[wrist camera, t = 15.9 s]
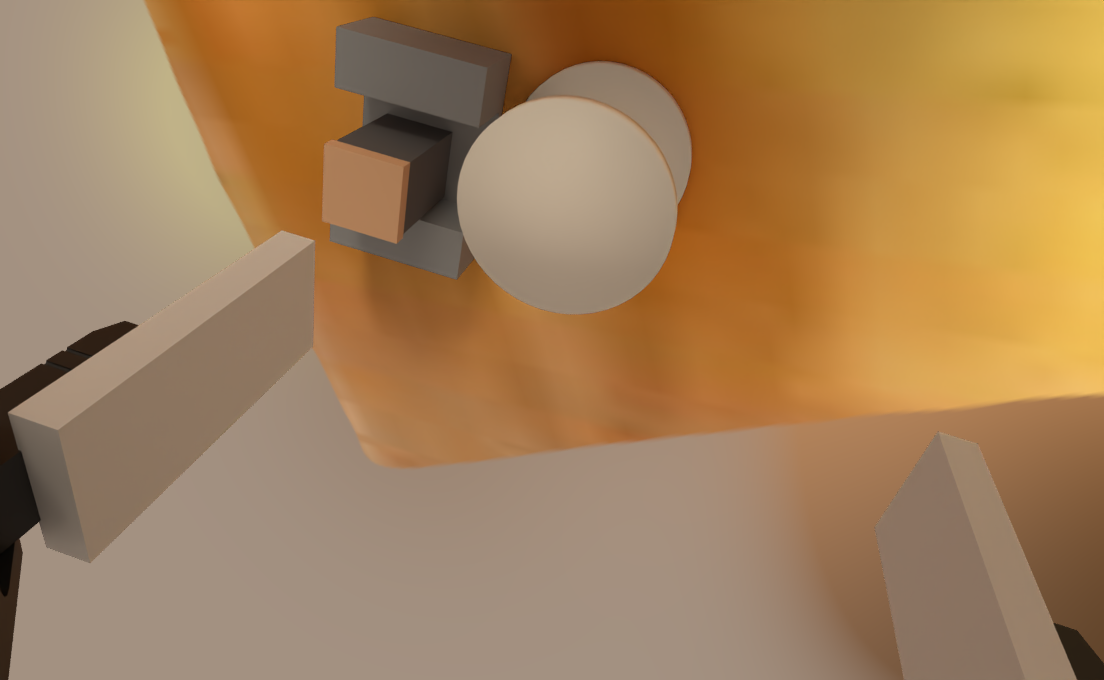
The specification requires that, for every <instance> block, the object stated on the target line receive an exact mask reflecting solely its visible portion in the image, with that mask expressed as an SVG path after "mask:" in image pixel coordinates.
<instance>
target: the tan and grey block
mask: <svg viewBox="0 0 1104 680" xmlns="http://www.w3.org/2000/svg"><path fill="white" fill-rule="evenodd" d="M452 133H453V132H451V131H447V130H444V129H440V128H437V127H433V126H430V125H426V124H423V123H419V122H416V121H412V120H409V119H405V118H402V117H399V116H395V115H392V114H388V113H387V114H385V115H383V116H381V117H380V118H378V119H376V120H374V121H372V122H370V123H368V124H367V125H365V126H363V127H361V128H359V129H357V130H355V131H353V132H352V133H350V134H348V135H346V136H344V137H342V138H340V139H339V140H337V141H336V140H330V141H328V142H327V143H325V144H324V169H323V207H322V221H323V222H327V223H330V224H333V225H337V226H340V227H343V228H346V229H350V230H353V231H356V232H359V233H363V234H366V235H369V236H373V237H376V238H379V239H382V240H386V241H389V242H392V243H395V244H397V243H398V242H399V241H400V240H401V239H402V238H403V234H404V233H405V232H406V231H407V230H408V229H409V228H411V227H412V226H413V225H414V224H415V223H416V222H417V221H418V220H419V219H421V218H422V217H423V216H424V215H425V214H426V213H427V212H428V211H429V210H430V209H432V208H433V207H434V206H435V205H436V204H437V203H438V202H439V201H440V200H442V199H443V198H444V196H445V188H446V180H447V172H448V164H449V157H450V149H451V141H452Z"/></svg>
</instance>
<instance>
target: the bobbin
mask: <svg viewBox="0 0 1104 680" xmlns="http://www.w3.org/2000/svg"><path fill="white" fill-rule="evenodd" d="M691 162H692V143H691V136H690V131H689V128H688V125H687V121H686V119H685V117H684V115H683V112H682V110H681V108H680V107H679V105H678V104H677V102H676V100H675V99H674V98H673V96H672V95H671V94H670V93H669V92H668V90H667V89H666V88H665V87H664V86H662V85H661V84H660V83H659V82H658V81H657V80H655V79H654V78H653V77H651V76H650V75H648V74H647V73H645V72H643V71H641V70H639V69H637V68H635V67H632V66H629V65H626V64H622V63H617V62H612V61H591V62H584V63H580V64H576V65H573V66H570V67H568V68H565V69H563V70H561V71H560V72H558V73H556V74H554V75H553V76H551V77H550V78H549V79H548V80H546V81H545V82H544V83H542V84H541V85H540V86H539V87H538V88H537V89H536V90H535V91H534V92H533V93H532V94H531V95H530V97H529V98H528V99H527V101H526V102H525V103H522V104H519V105H518V106H516V107H514V108H512V109H510V110H509V111H507V112H506V113H504V114H503V115H502V116H501V117H499V118H498V119H497V120H495V121H494V122H493V123H491V124H490V125H489V126H488V127H487V128H486V129H485V130H484V131H483V132H482V133H481V134H480V135H479V137H478V138H477V139H476V141H475V142H474V144H473V145H472V146H471V148H470V150H469V152H468V154H467V156H466V158H465V160H464V163H463V166H462V169H461V172H460V176H459V181H458V189H457V209H458V216H459V221H460V226H461V229H462V232H463V235H464V239H465V241H466V243H467V245H468V247H469V249H470V251H471V253H472V255H473V256H474V258H475V260H476V261H477V263H478V264H479V265H480V267H481V268H482V269H483V270H484V272H485V273H486V274H487V275H488V276H489V277H490V278H491V279H492V280H493V281H494V282H495V283H496V284H497V285H498V286H500V287H501V288H502V289H503V290H504V291H506V292H507V293H509V294H510V295H512V296H513V297H515V298H516V299H518V300H520V301H522V302H524V303H526V304H528V305H531V306H534V307H536V308H539V309H542V310H546V311H550V312H554V313H562V314H588V313H595V312H599V311H604V310H607V309H610V308H613V307H615V306H618V305H620V304H622V303H624V302H626V301H627V300H629V299H631V298H632V297H634V296H635V295H636V294H638V293H639V292H641V291H642V290H643V289H644V288H645V287H646V286H647V285H648V284H649V283H650V282H651V281H652V280H653V278H654V277H655V276H656V274H657V273H658V272H659V270H660V269H661V267H662V265H663V263H664V262H665V260H666V258H667V255H668V253H669V250H670V248H671V244H672V240H673V236H674V232H675V228H676V223H677V213H678V203H679V202H680V200H681V198H682V196H683V193H684V191H685V188H686V186H687V182H688V178H689V174H690V170H691Z"/></svg>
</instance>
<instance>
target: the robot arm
mask: <svg viewBox="0 0 1104 680" xmlns="http://www.w3.org/2000/svg"><path fill="white" fill-rule="evenodd" d="M314 269H315V240H311V239H308V238H305V237H301V236H298V235H295V234H292V233H288V232H285V231H280V232H279V233H277V234H276V235H274V236H273V237H271V238H270V239H268V240H267V241H265V242H264V243H262V244H261V245H259V246H258V247H256V248H255V249H253V250H252V251H250V252H249V253H247V254H246V255H244V256H243V257H241V258H240V259H238V260H237V261H235V262H234V263H232V264H231V265H229V266H228V267H226V268H225V269H223V270H222V271H220V272H219V273H217V274H216V275H214V276H213V277H211V278H210V279H208V280H207V281H205V282H204V283H202V284H201V285H199V286H198V287H196V288H195V289H193V290H192V291H190V292H189V293H187V294H186V295H184V296H183V297H181V298H180V299H178V300H177V301H175V302H173V303H172V304H171V305H169V306H168V307H166V308H164V309H163V310H161V311H160V312H158V313H157V314H155V315H154V316H152V317H151V318H150V319H148V320H147V321H145V322H143V323H142V324H140V325H136V324H133V323H130V322H126V321H123V322H120V323H117V324H114V325H111V326H108V327H105V328H102V329H99V330H96V331H93V332H91V333H89V334H88V335H86V336H85V337H83V338H81V339H80V340H78V341H77V342H75V343H74V344H72V345H70V346H69V347H67V350H66V351H61V352H59V353H58V354H56V355H54V356H53V357H51V358H50V359H48V360H47V361H46V364H40V365H38V366H37V367H35V368H34V369H32V370H30V371H29V372H27V373H26V374H24V375H22V376H21V377H19V378H18V379H16V380H14V381H13V382H12V383H10V384H8V385H6V386H5V387H3V388H2V389H0V680H8V677H9V668H10V659H11V651H12V642H13V633H14V624H15V615H16V607H17V597H18V589H19V579H20V571H21V563H22V554H23V552H22V548H21V543H20V540H19V538H20V537H21V536H23V535H24V534H25V533H26V532H27V531H28V530H30V529H31V528H32V527H33V526H34V525H36V524H37V523H38V522H39V523H40V526H41V530H42V534H43V537H44V540H45V544H46V547H47V548H50V549H53V550H55V551H58V552H61V553H64V554H66V555H69V556H72V557H75V558H77V559H80V560H83V561H86V562H88V563H91V562H92V561H93V560H94V559H95V558H96V557H97V556H98V555H99V554H100V553H101V552H102V551H103V550H104V549H105V548H106V547H107V546H108V545H109V544H110V543H111V542H112V541H113V540H114V539H116V537H117V536H119V535H120V534H121V533H122V532H123V531H124V530H125V529H126V528H127V527H128V526H129V525H130V524H131V523H132V522H133V521H134V520H135V519H136V518H137V517H138V516H139V515H140V514H141V513H142V512H143V511H144V510H145V509H146V508H147V507H148V506H149V505H150V504H151V503H153V501H155V499H157V498H158V497H159V496H160V495H161V494H162V493H163V492H164V491H165V490H166V489H167V488H168V487H169V486H170V485H171V484H172V483H173V482H174V481H175V480H176V479H177V478H178V477H179V476H180V475H181V474H182V473H183V472H184V471H185V470H186V469H188V468H189V467H190V466H191V465H192V464H193V463H194V462H195V461H196V460H197V459H198V458H199V457H200V456H201V455H202V454H203V453H204V452H205V451H206V450H207V449H208V448H209V447H210V446H211V445H212V444H213V443H214V442H215V441H216V440H217V439H218V438H219V437H220V436H221V435H222V434H223V433H225V432H226V430H228V429H229V428H230V427H231V426H232V425H233V424H234V423H235V422H236V421H237V420H238V419H239V418H240V417H241V416H242V415H243V414H244V413H245V412H246V411H247V410H248V409H249V408H250V407H251V406H252V405H253V404H254V403H255V402H256V401H257V400H258V399H260V397H262V396H263V395H264V394H265V392H267V391H268V390H269V389H270V388H271V387H272V386H273V385H274V384H275V383H276V382H277V381H278V380H279V379H280V378H281V377H282V376H283V375H284V374H285V373H286V372H287V371H288V370H289V369H290V368H291V367H292V366H293V365H294V364H295V363H297V362H298V361H299V360H300V359H301V358H302V357H303V356H304V355H305V354H306V353H307V352H308V351H309V350H310V349H311V348H312V347H313V324H314ZM875 532H876V537H877V542H878V547H879V553H880V558H881V563H882V568H883V573H884V579H885V584H886V589H887V594H888V599H889V604H890V609H891V615H892V620H893V624H894V630H895V635H896V640H897V646H898V651H899V655H900V661H901V666H902V671H903V677H904V680H1104V663H1103V662H1102V661H1101V660H1100V658H1099V657H1098V656H1097V655H1096V653H1095V652H1094V651H1093V650H1092V648H1091V647H1090V646H1089V645H1088V643H1087V642H1086V641H1085V640H1084V639H1083V637H1082V636H1081V635H1080V634H1079V632H1078V631H1077V630H1074V629H1071V628H1068V627H1065V626H1062V625H1059V624H1055V623H1053V622H1052V619H1051V617H1050V614H1049V612H1048V610H1047V607H1046V605H1045V602H1044V600H1043V598H1042V595H1041V593H1040V591H1039V588H1038V586H1037V583H1036V581H1035V579H1034V576H1033V574H1032V572H1031V569H1030V567H1029V564H1028V563H1027V560H1026V557H1025V555H1024V552H1023V550H1022V548H1021V545H1020V543H1019V541H1018V538H1017V536H1016V533H1015V531H1014V529H1013V526H1012V524H1011V522H1010V519H1009V517H1008V514H1007V512H1006V510H1005V507H1004V505H1003V503H1002V500H1001V498H1000V495H999V493H998V491H997V488H996V486H995V483H994V481H993V479H992V476H991V474H990V472H989V469H988V467H987V464H986V462H985V460H984V457H983V455H982V453H981V450H980V448H979V446H978V444H977V443H974V442H971V441H968V440H964V439H961V438H958V437H955V436H951V435H948V434H945V433H941V432H937V433H936V435H935V436H934V438H933V439H932V441H931V442H930V444H929V446H928V447H927V448H926V450H925V452H924V453H923V455H922V456H921V458H920V459H919V461H918V462H917V464H916V465H915V467H914V468H913V470H912V471H911V473H910V474H909V476H908V477H907V479H906V480H905V482H904V484H903V485H902V487H901V488H900V489H899V491H898V492H897V494H896V495H895V497H894V499H893V500H892V501H891V503H890V505H889V506H888V508H887V509H886V511H885V512H884V514H883V515H882V517H881V518H880V520H879V521H878V523H877V524H876V526H875Z"/></svg>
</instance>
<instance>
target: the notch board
mask: <svg viewBox="0 0 1104 680" xmlns="http://www.w3.org/2000/svg"><path fill="white" fill-rule="evenodd" d="M511 55H512V54H509V53H505V52H502V51H498V50H494V49H491V48H487V47H483V46H479V45H476V44H472V43H468V42H465V41H461V40H457V39H454V38H450V37H446V36H443V35H439V34H435V33H431V32H428V31H424V30H420V29H417V28H413V27H409V26H406V25H402V24H398V23H394V22H391V21H387V20H383V19H380V18H376V17H371V18H367V19H363V20H359V21H356V22H352V23H348V24H344V25H340V26H337V27H336V59H335V87H336V88H339V89H343V90H346V91H350V92H353V93H357V94H360V95H364V109H363V126H365V125H367V124H368V123H370V122H372V121H374V120H376V119H378V118H380V117H381V116H383V115H385V114H387V113H388V114H392V115H395V116H399V117H402V118H405V119H409V120H412V121H416V122H419V123H423V124H426V125H430V126H433V127H437V128H440V129H444V130H447V131H451V132H453V133H452V141H451V149H450V157H449V164H448V172H447V180H446V188H445V196H444V198H443V199H442V200H440V201H439V202H438V203H437V204H436V205H435V206H434V207H433V208H432V209H430V210H429V211H428V212H427V213H426V214H425V215H424V216H423V217H422V218H421V219H419V220H418V221H417V222H416V223H415V224H414V225H413V226H412V227H411V228H409V229H408V230H407V231H406V232H405V233H404V234H403V238H402V239H401V240H400V241H399V242H398V243H397V244H395V243H392V242H389V241H386V240H382V239H379V238H376V237H373V236H369V235H366V234H363V233H359V232H356V231H353V230H350V229H346V228H343V227H340V226H337V225H333V224H330V241H332V242H335V243H338V244H341V245H345V246H348V247H351V248H355V249H358V250H361V251H364V252H368V253H371V254H374V255H377V256H381V257H384V258H387V259H391V260H394V261H397V262H400V263H404V264H407V265H410V266H413V267H417V268H420V269H423V270H427V271H430V272H433V273H436V274H440V275H443V276H446V277H449V278H453V279H456V280H457V279H458V278H459V277H460V275H461V274H462V273H463V272H464V270H465V269H466V268H467V267H468V266H469V264H470V263H471V262H472V261H473V260H474V256H473V255H472V253H471V251H470V249H469V247H468V245H467V243H466V241H465V239H464V235H463V232H462V229H461V226H460V221H459V216H458V209H457V189H458V181H459V176H460V172H461V169H462V166H463V163H464V160H465V158H466V156H467V154H468V152H469V150H470V148H471V146H472V145H473V144H474V142H475V141H476V139H477V138H478V137H479V135H480V134H481V133H482V132H483V131H484V130H485V129H486V128H487V127H488V126H489V125H490V124H491V123H493V122H494V121H495V120H497V119H498V118H499V117H501V116H502V111H503V104H504V98H505V92H506V86H507V80H508V73H509V67H510V61H511Z"/></svg>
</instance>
